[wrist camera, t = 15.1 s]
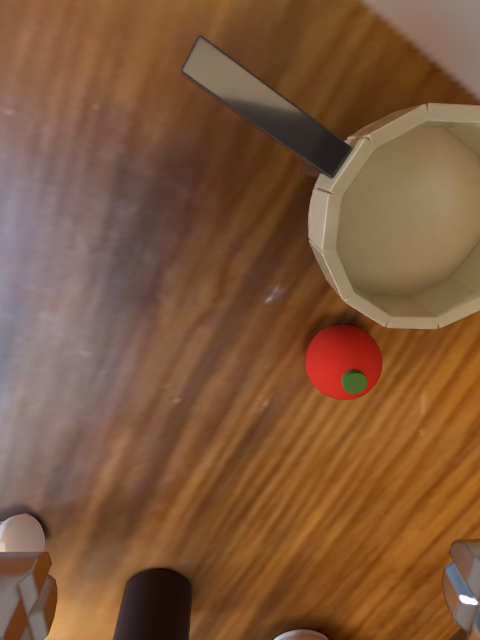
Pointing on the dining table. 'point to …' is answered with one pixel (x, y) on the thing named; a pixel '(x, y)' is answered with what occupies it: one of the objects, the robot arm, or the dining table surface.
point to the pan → (376, 196)
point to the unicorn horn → (21, 534)
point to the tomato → (343, 362)
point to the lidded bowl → (301, 635)
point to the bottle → (155, 608)
